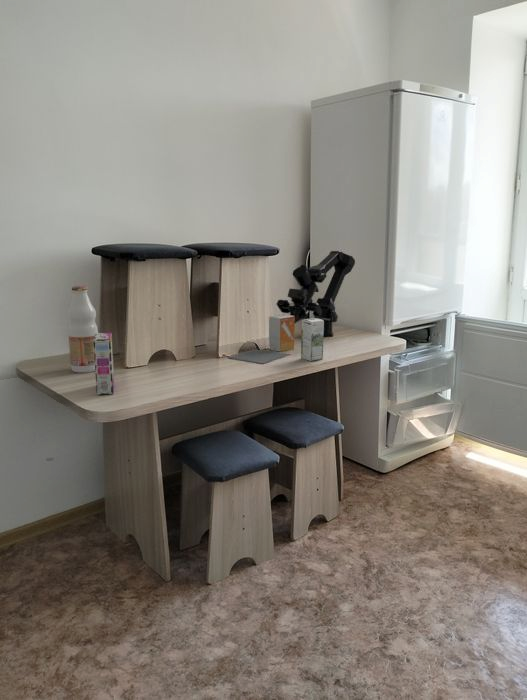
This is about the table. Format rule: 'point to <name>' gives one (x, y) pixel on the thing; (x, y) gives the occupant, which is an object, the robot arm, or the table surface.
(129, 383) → the table surface
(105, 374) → the candy bar box
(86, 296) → the fruit juice
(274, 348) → the small box
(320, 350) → the syrup box
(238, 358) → the felt mat
